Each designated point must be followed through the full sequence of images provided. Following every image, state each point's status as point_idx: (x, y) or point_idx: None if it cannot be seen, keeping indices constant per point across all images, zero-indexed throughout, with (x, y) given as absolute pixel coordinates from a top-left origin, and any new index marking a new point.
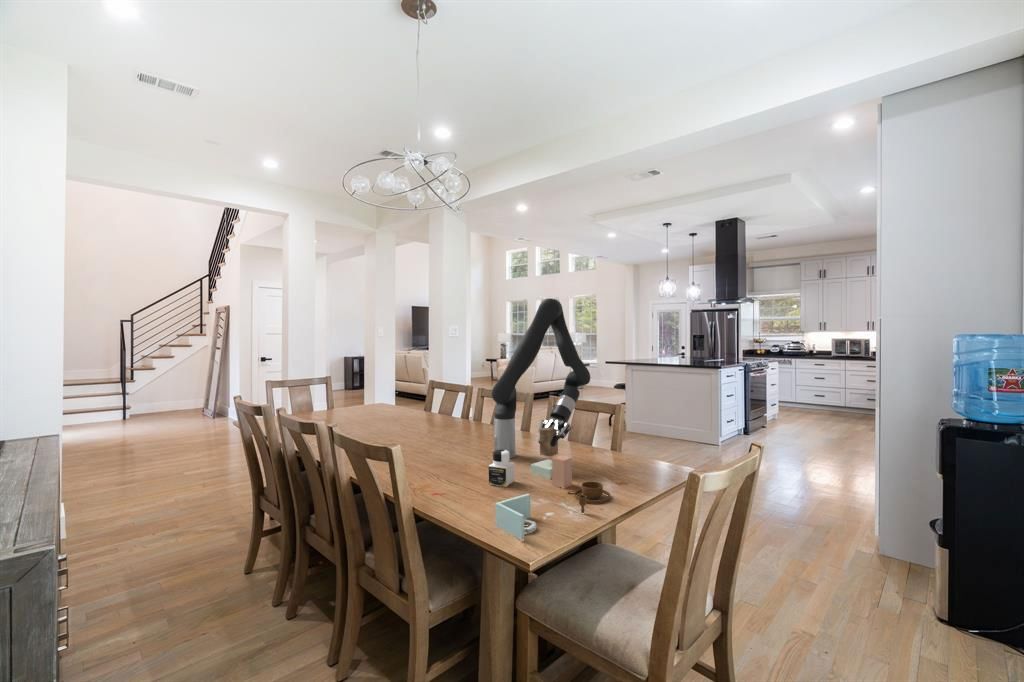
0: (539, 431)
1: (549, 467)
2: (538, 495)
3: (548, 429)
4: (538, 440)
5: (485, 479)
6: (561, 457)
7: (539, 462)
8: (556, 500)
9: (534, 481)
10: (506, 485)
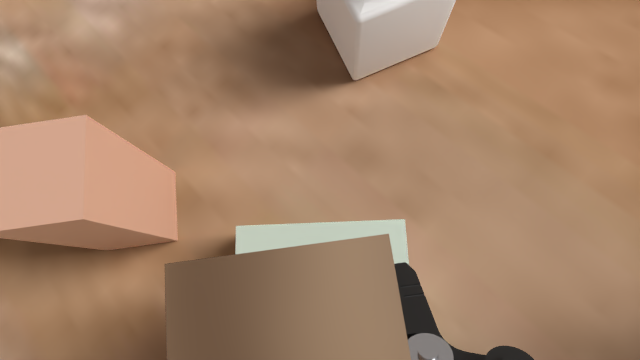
0: (498, 351)
1: None
2: (145, 46)
3: (244, 321)
4: (410, 268)
5: (470, 6)
6: (40, 178)
7: None
8: (54, 61)
9: (284, 152)
10: (317, 8)
